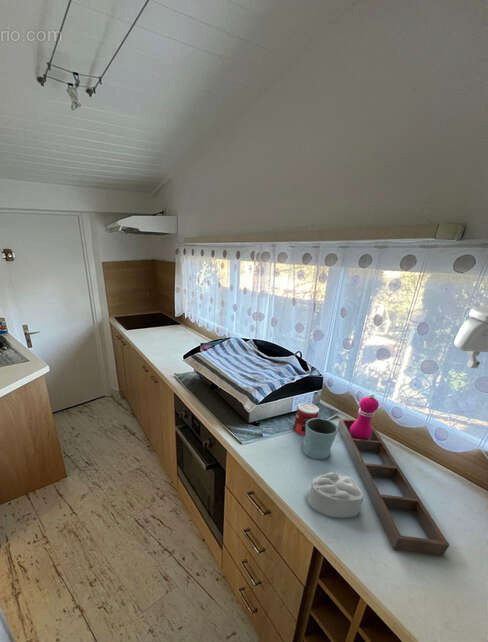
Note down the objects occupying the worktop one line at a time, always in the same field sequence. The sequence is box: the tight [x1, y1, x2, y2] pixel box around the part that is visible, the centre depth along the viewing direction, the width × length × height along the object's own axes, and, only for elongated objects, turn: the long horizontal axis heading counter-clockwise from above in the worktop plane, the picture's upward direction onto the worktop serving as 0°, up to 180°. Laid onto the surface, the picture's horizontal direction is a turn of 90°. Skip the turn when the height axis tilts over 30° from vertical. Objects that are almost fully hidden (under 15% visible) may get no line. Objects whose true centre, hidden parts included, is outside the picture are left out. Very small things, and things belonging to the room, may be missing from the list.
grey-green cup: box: [302, 417, 339, 460], centre depth 107 cm, size 10×10×12 cm
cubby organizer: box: [337, 418, 450, 557], centre depth 97 cm, size 11×55×5 cm, turn 170°
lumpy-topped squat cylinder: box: [307, 471, 365, 518], centre depth 87 cm, size 10×13×9 cm
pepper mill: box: [349, 393, 380, 440], centre depth 111 cm, size 7×7×20 cm
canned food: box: [293, 402, 320, 436], centre depth 119 cm, size 8×8×11 cm
